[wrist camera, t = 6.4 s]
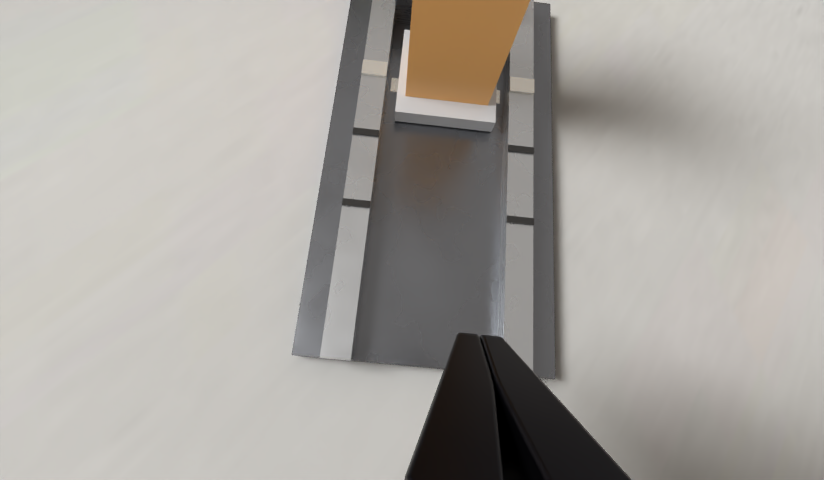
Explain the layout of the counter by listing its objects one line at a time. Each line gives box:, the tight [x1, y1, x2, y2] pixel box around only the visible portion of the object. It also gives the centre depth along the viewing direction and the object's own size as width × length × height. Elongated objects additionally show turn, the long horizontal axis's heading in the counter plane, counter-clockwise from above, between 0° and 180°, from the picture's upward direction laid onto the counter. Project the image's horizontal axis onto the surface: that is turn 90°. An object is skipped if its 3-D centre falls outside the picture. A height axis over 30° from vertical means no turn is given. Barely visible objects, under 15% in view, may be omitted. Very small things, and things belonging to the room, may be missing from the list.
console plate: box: [292, 0, 555, 379], centre depth 19 cm, size 20×11×3 cm, turn 175°
